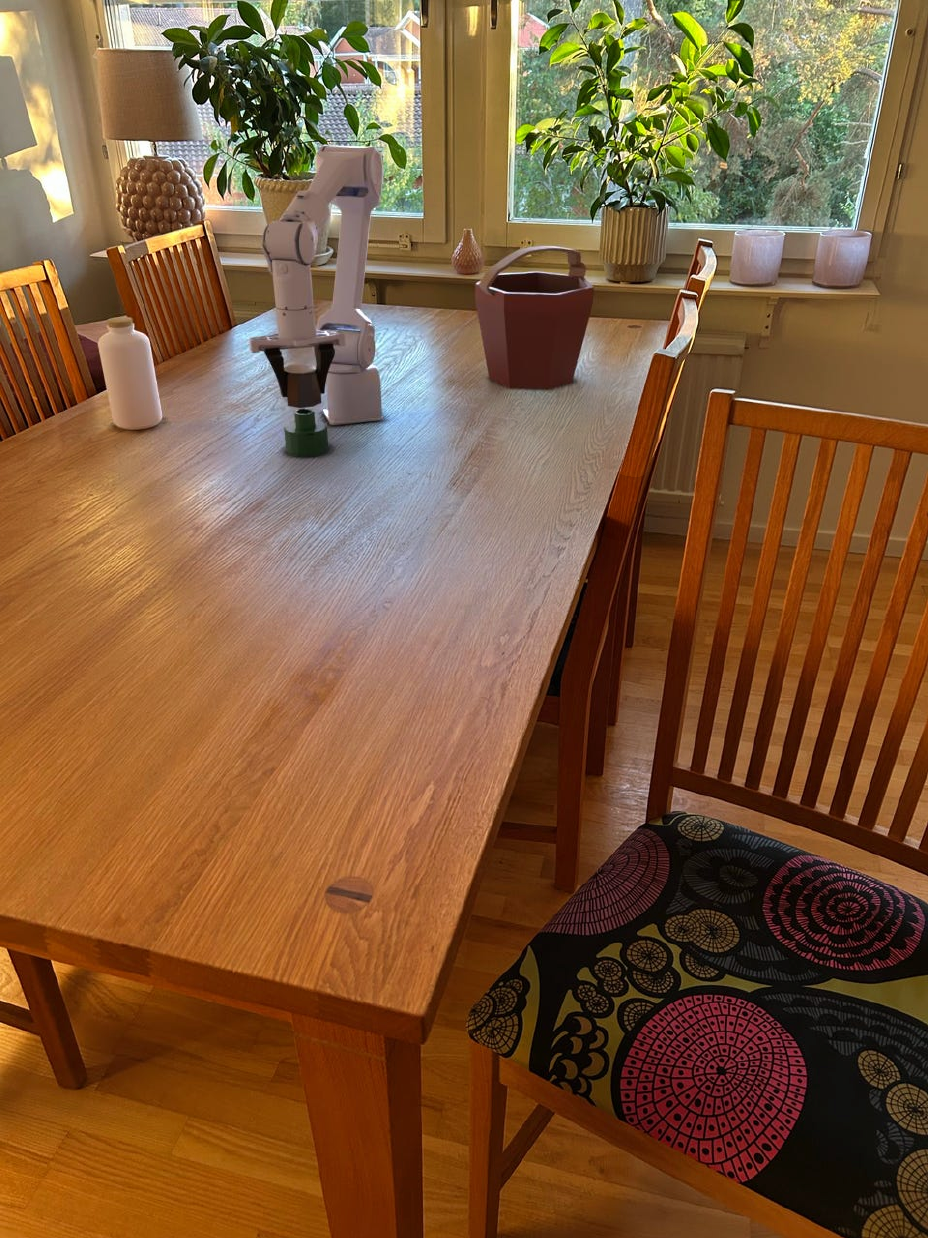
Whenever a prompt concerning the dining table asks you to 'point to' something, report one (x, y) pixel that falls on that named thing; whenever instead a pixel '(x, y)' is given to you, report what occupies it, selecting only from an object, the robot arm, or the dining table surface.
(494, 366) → the bucket
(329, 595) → the dining table surface
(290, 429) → the bottle
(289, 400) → the faceted brown jar
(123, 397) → the potion bottle
